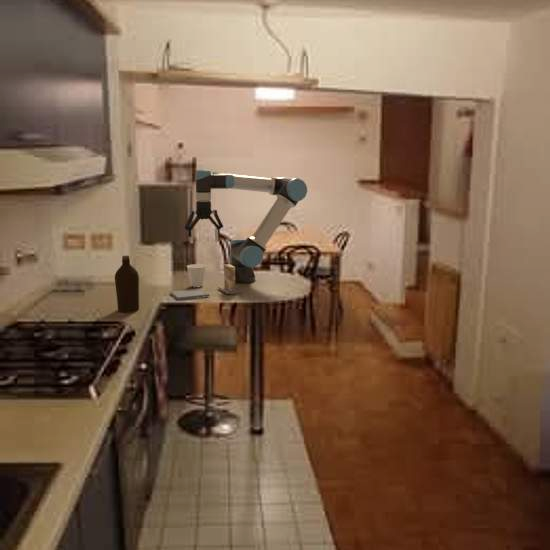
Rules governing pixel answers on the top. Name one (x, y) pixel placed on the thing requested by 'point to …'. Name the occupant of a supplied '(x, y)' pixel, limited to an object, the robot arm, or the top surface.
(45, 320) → the top surface
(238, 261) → the robot arm
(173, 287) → the top surface
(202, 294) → the board
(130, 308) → the olive oil
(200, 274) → the cup
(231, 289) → the stub
